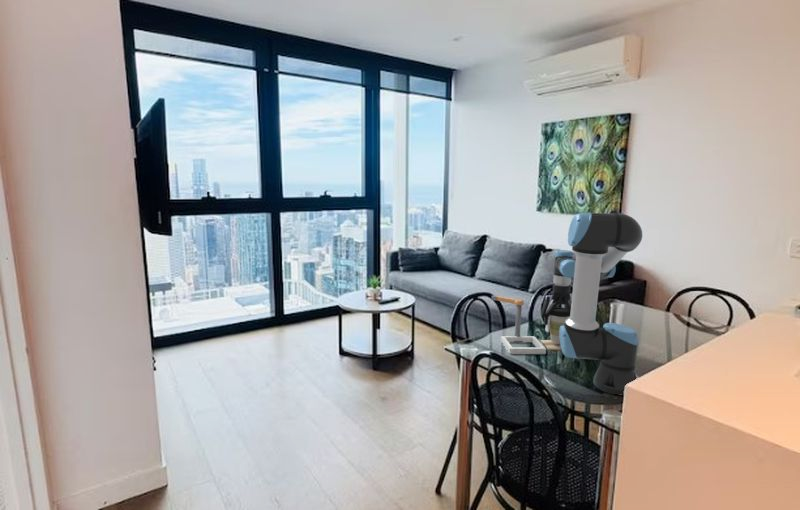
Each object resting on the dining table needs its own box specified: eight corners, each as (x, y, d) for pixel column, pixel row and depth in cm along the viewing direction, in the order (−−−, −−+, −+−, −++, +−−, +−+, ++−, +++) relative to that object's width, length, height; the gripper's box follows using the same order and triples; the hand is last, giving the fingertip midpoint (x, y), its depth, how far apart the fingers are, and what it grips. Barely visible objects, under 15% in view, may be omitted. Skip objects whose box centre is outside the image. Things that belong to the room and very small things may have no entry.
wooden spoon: (490, 300, 219) (491, 296, 218) (494, 298, 222) (494, 294, 221) (521, 305, 209) (521, 302, 209) (524, 304, 212) (525, 300, 212)
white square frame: (545, 354, 199) (548, 315, 196) (509, 354, 198) (511, 315, 195) (532, 339, 217) (534, 304, 214) (499, 339, 216) (501, 304, 214)
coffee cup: (554, 345, 202) (556, 313, 200) (542, 338, 212) (544, 307, 209) (573, 343, 205) (575, 311, 203) (560, 336, 214) (562, 306, 212)
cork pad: (575, 350, 203) (575, 349, 203) (549, 350, 203) (549, 349, 203) (565, 341, 215) (565, 340, 215) (540, 341, 214) (540, 340, 214)
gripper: (582, 282, 208) (578, 328, 212) (534, 282, 207) (531, 328, 211) (589, 286, 201) (585, 334, 204) (540, 286, 200) (537, 334, 204)
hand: (558, 331), depth 208 cm, fingers closed on coffee cup, 10 cm apart
